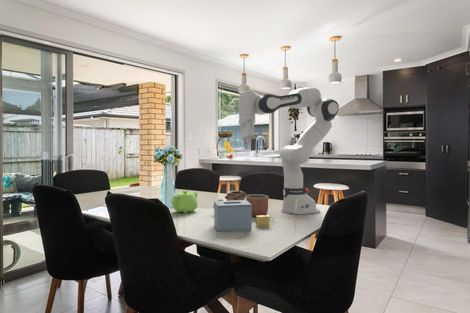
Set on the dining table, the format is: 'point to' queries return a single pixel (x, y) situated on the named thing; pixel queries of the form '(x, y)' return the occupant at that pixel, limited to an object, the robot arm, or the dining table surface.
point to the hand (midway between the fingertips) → (247, 145)
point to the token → (262, 221)
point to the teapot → (185, 202)
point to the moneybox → (232, 215)
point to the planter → (258, 204)
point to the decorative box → (235, 195)
